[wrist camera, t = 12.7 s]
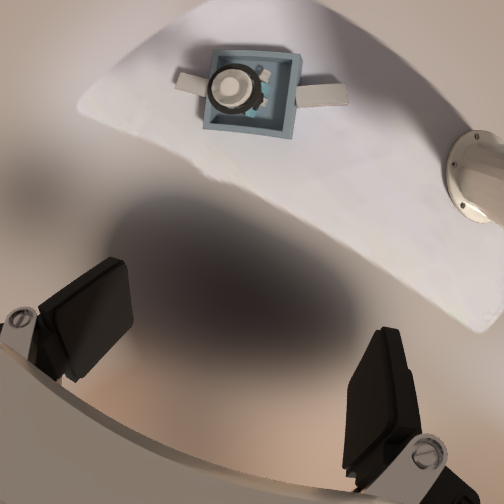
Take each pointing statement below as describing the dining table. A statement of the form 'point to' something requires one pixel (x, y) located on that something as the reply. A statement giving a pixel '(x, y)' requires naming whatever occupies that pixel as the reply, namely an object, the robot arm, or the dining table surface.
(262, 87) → the push button
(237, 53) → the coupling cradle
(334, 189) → the dining table surface
